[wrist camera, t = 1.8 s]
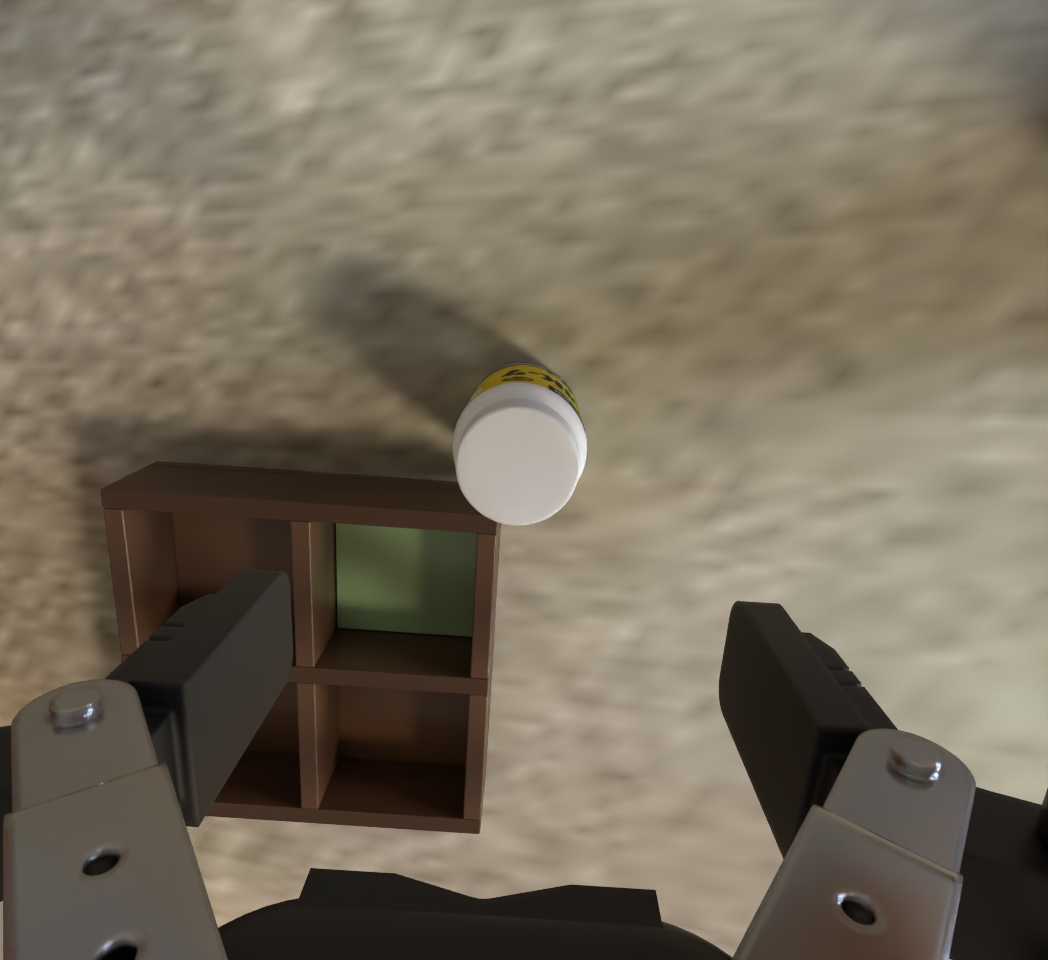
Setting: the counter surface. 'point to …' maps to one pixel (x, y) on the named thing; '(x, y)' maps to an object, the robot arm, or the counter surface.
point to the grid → (333, 631)
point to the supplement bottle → (520, 445)
